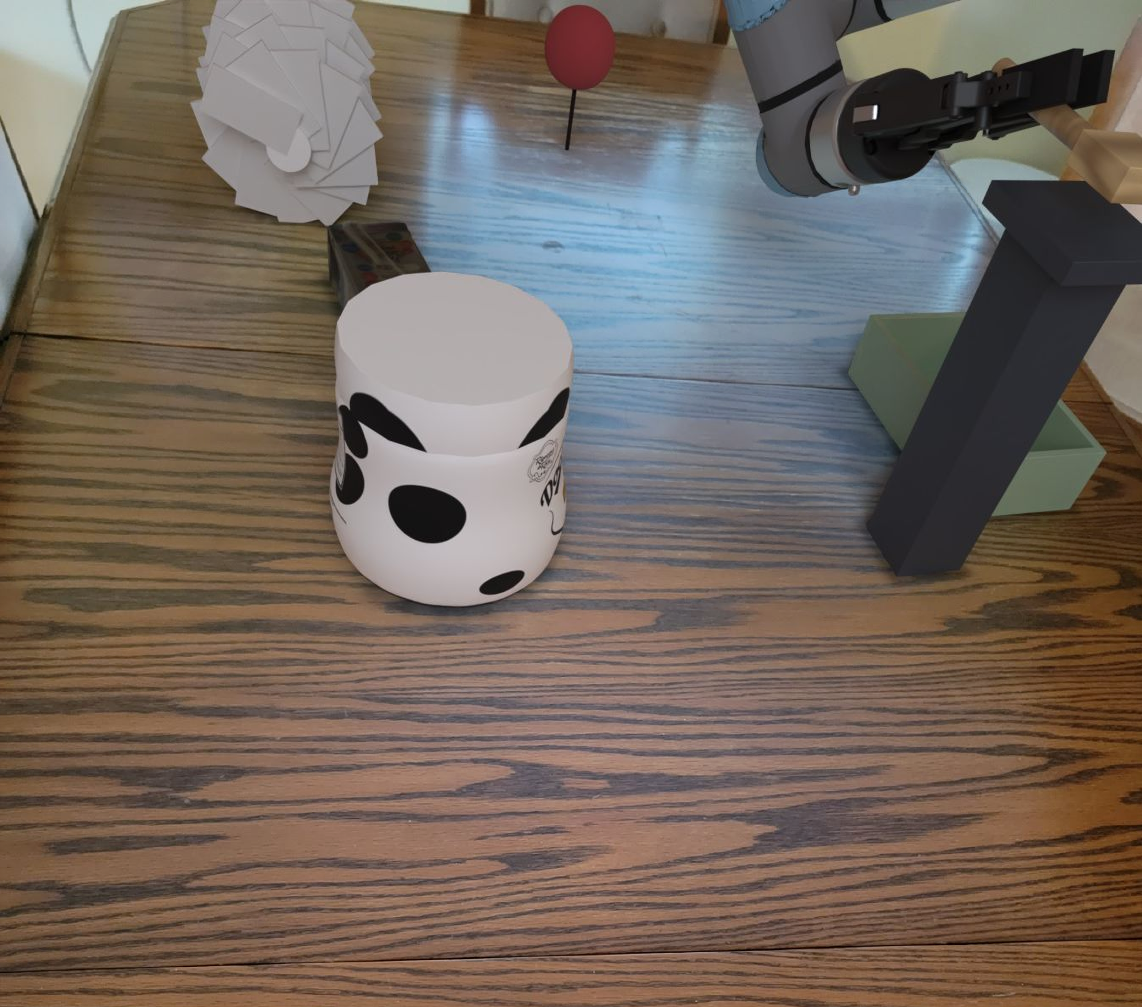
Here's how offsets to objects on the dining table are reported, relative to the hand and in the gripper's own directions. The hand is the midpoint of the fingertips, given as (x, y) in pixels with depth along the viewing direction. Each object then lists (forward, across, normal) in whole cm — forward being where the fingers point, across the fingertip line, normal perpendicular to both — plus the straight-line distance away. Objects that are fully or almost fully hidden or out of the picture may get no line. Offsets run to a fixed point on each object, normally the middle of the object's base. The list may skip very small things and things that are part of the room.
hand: (1089, 75), depth 62 cm
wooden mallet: (-2, 0, -3) cm, 4 cm away
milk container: (-17, +38, -29) cm, 51 cm away
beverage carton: (-42, +38, -15) cm, 59 cm away
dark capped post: (-12, 0, -32) cm, 34 cm away
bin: (-24, -11, -25) cm, 37 cm away
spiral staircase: (-67, +44, 0) cm, 80 cm away
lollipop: (-74, +11, +3) cm, 75 cm away
